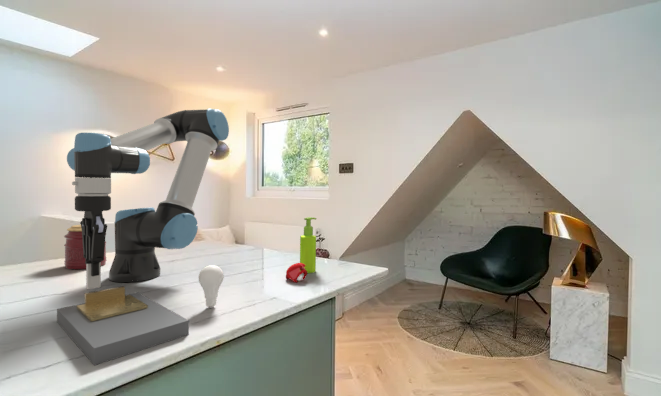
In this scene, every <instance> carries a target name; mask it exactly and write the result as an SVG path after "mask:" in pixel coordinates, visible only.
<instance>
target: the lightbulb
mask: <svg viewBox="0 0 661 396" xmlns="http://www.w3.org/2000/svg"><path fill="white" fill-rule="evenodd" d="M224 278H225V276H224V272H223V270H222V268H221V267H219V266H217V265H216V264H215V265H214V264H210V265H207V266H205V267H203V268H202V269H201V270H200V271H199V274H198V283H199V285H200V287H201V289H202V290H203V293H204V299H205V306H206V307H208V308H209V309H212V308H214V307H215V306H217V299H218V294H219V289H220V287H221V286H222V283H223V281H224Z"/></svg>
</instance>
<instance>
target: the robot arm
mask: <svg viewBox="0 0 661 396" xmlns="http://www.w3.org/2000/svg"><path fill="white" fill-rule="evenodd" d="M229 127H230V126H229V122H228V120H227V117H226V116H225V114H224V112H222V110H220V109H218V108H217V109H216V108H207V109H184V110H180V111H176V112H173V113H171V114H168V115H165V116H163V117H160V118H156V120H155V121H154V122H153V123H151V124H149V125H146V126H143V127H139V128H137V129H134V130H132V131H128V132H126V133H123V134H120V135H117V136H114V137H112V138H111V137H110V135H108V134H104V133H99V132H78V133H77V134H75V136H74V146H73V148H71V149H70V150H69V151H68V152H67V155H66V162H67V164H68V167H69V168H70V169H71V170H72V171H74V180H73V181H72V182H71V184H72V185H73V186H74V193H75V194H76V196H75V197H74V210H75V211H77V212H84V215H83V218H81V220H80V224H79V225H81V228H82V240H83V254H84V255H83V257H84V258H86V259H85V260H86V261H85V264H86V269H85V270H86V272H85V273H86V275H85V276H86V278H85V279H86V288H85V289H87V290H92V289H98V288H101V287H102V284H101V283H102V282H101V280H102V279H101V278H102V277H101V275H102V274H101V273H102V272H101V271H102V270H101V268H102V266H101V261H103V260H104V249H105V241H106V235H107V231H108V230H107V229H108V225H107V223H105V221H106V219H105V218H104V216H103V215H104V214H103V212H105V211H106V212H107V211H110V210H112V209H111V208H112V206H111V205H112V197H111V196H110V194H111V193H112V174H131V175H136V174H144V173H146V172H147V170H148V169H149V168H150V165H151V157H150V155H149V153H148V152H147V151H149V150H152V149H154V148H157V147H158V146H161V145H163V144H165V145H171V144H173V143H176V142H187V143H186V145H185V148H184V151H183V153H182V156H181V158H180V161H179V163H178V167H177V169H176V171H175V175H174V177H173V180H172V183H171V184H170V188H169V191H168V193H167V196H166V198H165V200H163V201H161V202H159V203H158V205H157V208H156V210H155V208H154V207H150V206H149V207H139V208H130V209H122V210H119V211H116V213H115V217H114V251H115V253H114V258H113V260H112V263H111V266H110V267H109V269H110V270H109V272H108V280H109V281H111V282H115V283H134V282H135V283H136V282H142V281H148V280H151V279H155V278H158V277H159V276H160V275H161V266H160V263H159V261H158V257H157V255H156V252H155V251H156V250H155V248H157V249H167V250H181V249H185V248H187V247H188V246H189V245H190V244H192V243H193V241H194V240H195V238H196V235H197V232H198V227H199V226H198V221H197V218H196V217H195V214H196V212H195V211H194V209H193V207H194V203H195V201H196V196H197V194H198V191H199V188H200V186H201V182H202V179H203V176H204V173H205V171H206V167H207V165H208V163H209V158H210V156H211V153H212V151H215V150H217V149H218V145H219V142H223V141H225V140H227V139H228V137H229V133H230V130H229V129H230V128H229Z"/></svg>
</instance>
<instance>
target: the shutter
mask: <svg viewBox="0 0 661 396" xmlns="http://www.w3.org/2000/svg"><path fill="white" fill-rule="evenodd" d="M125 295H126V296H125ZM84 303H85V304H83V303H82V304H83V305H79V304H77V305H78V306H77V309H78V310H79V311H80V312H81V313H82V314H83V315H85V316H86V317H87V318H88V319H89V320H90V321H91V322H92V321H96V320H100V319H104V318H108V317H112V316H116V315H120V314H124V313H129V312H133V311H137V310H141V309H145V308H148V305H146V304H145V303H143V302H141V301H140V300H138V299H136V298H135V297H133V296H131V295H127V294H126V287H125V286H124V285H122V286H115V287H112V288H106V289H101V290H95V291H91V292H85V293H84Z"/></svg>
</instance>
